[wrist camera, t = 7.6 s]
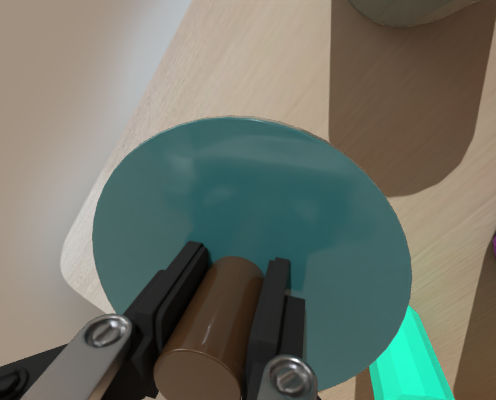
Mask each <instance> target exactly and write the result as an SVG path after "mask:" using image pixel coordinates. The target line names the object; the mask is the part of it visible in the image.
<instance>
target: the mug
mask: <svg viewBox="0 0 496 400" xmlns="http://www.w3.org/2000/svg"><path fill="white" fill-rule="evenodd" d="M493 247H494V252H495V257H496V235H495V238H494V240H493Z"/></svg>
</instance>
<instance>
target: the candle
mask: <svg viewBox="0 0 496 400" xmlns="http://www.w3.org/2000/svg"><path fill="white" fill-rule="evenodd" d="M369 370H370V375H371V381H372V386H373V392H374V397H375V400H455V399H454V397H453V394H452V392H451V390H450V387H449V385H448V383H447V380H446V378H445V376H444V373H443V371H442V369H441V366H440V364H439V362H438V359H437V357H436V355H435V352H434V350H433V348H432V345H431V343H430V341H429V338H428V336H427V334H426V331H425V329H424V326H423V324H422V322H421V319H420V317H419V315H418V314H417V313H416V312H415V311H414V310H413V309H412V308H411V307H410V306H409V305H408V307H407V311H406V315H405V318H404V320H403V322H402V324H401V326H400V328H399V331H398V333H397V334H396V336H395V337H394V339H393V340H392V342H391V343H390V345H389V346H388V348H387V349H386V350H385V351H384V352H383V353H382V354H381V355H380V356H379V357H378V358H377V360H376V361H375V362H373V363H372V364H371V365H370V366H369Z"/></svg>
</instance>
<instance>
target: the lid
mask: <svg viewBox="0 0 496 400" xmlns="http://www.w3.org/2000/svg"><path fill="white" fill-rule="evenodd" d="M92 241H93V255H94V260H95V265H96V270H97V273H98V276H99V279H100V282H101V285H102V287H103V290H104V292H105V294H106V296H107V298H108V300H109V302H110V304H111V305H112V307H113V309H114V311H115V312H116V314H121V315H122V314H123V313H124V312H125V311H126V309H127V308H128V307H129V306H130V305H131V303H132V302H133V301H134V300H135V299H136V297H137V296H138V295H139V294H140V292H141V291H142V290H143V289H144V288H145V286H146V285H147V284H148V283H149V282H150V280H151V279H152V278H153V277H154V275H155V274H156V273H157V272H158V271H159V270H161V269H163V270H166V268H167V267H168V266H169V265H170V263H171V262H172V261H173V260H174V258H175V257H176V256H177V255H178V253H179V252H180V251H181V249H182V248H183V247H184V246H185V244H186V243H187V242H188V241H194V242H199V243H203V245H204V247H206V248H208V259H207V272H206V274H205V276H204V277H203V279H202V281H201V283H200V284H199V286H198V288H197V290H196V291H195V293H194V295H193V297H192V298H191V300H190V302H189V304H188V305H187V307H186V309H185V311H184V312H183V314H182V316H181V318H180V320H179V321H178V323H177V325H176V327H175V328H174V330H173V332H172V334H171V335H170V337H169V339H168V341H167V342H166V344H165V346H164V348H163V349H162V351H161V353H160V355H159V356H158V358H157V360H156V362H155V364H154V368H153V378H154V382H155V384H156V387H157V388H158V390H159V391H160V393H161V394H162V395H163V396H164V398H165V399H166V400H241V397H242V393H243V388H244V384H245V379H246V375H245V368H246V359H247V351H248V343H249V337H250V332H251V328H252V324H253V320H254V317H255V313H256V309H257V305H258V301H259V297H260V294H261V290H262V286H263V282H264V278H265V275H266V271H267V267H268V263H269V260H274V261H275V258H276V257H279V258H284V259H289V260H290V262H289V269H288V276H287V282H286V289H285V295H288V296H293V297H298V298H302V299H305V319H304V338H303V358H302V359H303V360H304V361H305V362H307V363H308V364H309V365H310V366H311V368H312V369H313V370H314V372H315V374H316V377H317V383H318V391H321V390H325V389H328V388H331V387H333V386H336V385H338V384H340V383H343V382H345V381H347V380H349V379H350V378H352V377H354V376H355V375H357V374H359V373H361V372H362V371H363V370H364V369H366V368H367V367H368V366H370V365H371V364H372V363H373V362H375V361H376V360H377V358H378V357H379V356H380V355H381V354H382V353H383V352H384V351H385V350H386V349H387V348H388V346H389V345H390V343H391V342H392V340H393V339H394V337H395V336H396V334H397V333H398V331H399V328H400V326H401V324H402V322H403V320H404V318H405V315H406V311H407V307H408V304H409V300H410V294H411V284H412V270H411V257H410V253H409V249H408V245H407V241H406V236H405V234H404V231H403V229H402V227H401V224H400V222H399V220H398V217H397V215H396V213H395V211H394V210H393V208H392V206H391V205H390V203H389V202H388V200H387V198H386V197H385V195H384V194H383V192H382V190H381V189H380V188H379V186H378V185H377V184H376V183H375V182H374V181H373V179H372V178H371V177H370V176H369V175H368V173H367V172H366V171H365V170H364V169H363V168H362V167H360V166H359V165H358V164H357V163H356V162H355V161H354V160H353V159H351V158H350V157H349V156H348V155H347V154H346V153H344V152H343V151H341V150H340V149H338V148H337V147H335V146H334V145H332V144H331V143H329V142H328V141H326V140H324V139H322V138H320V137H318V136H316V135H314V134H312V133H310V132H308V131H306V130H304V129H301V128H298V127H295V126H292V125H289V124H286V123H283V122H280V121H276V120H271V119H265V118H260V117H255V116H235V115H227V116H216V117H206V118H202V119H198V120H194V121H190V122H185V123H182V124H179V125H177V126H175V127H172V128H170V129H167V130H165V131H162V132H160V133H158V134H156V135H155V136H153V137H151V138H149V139H148V140H146V141H144V142H143V143H141V144H140V145H139V146H138V147H136V148H135V149H134V150H133V151H132V152H130V153H129V154H128V155H127V156H126V157H125V158H124V159H123V160H122V162H121V163H120V164H119V165H118V166H117V167H116V169H115V170H114V171H113V173H112V174H111V176H110V178H109V179H108V181H107V183H106V184H105V186H104V188H103V191H102V193H101V195H100V198H99V200H98V203H97V207H96V211H95V216H94V221H93V233H92ZM318 391H317V392H318Z"/></svg>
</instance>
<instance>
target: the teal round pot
mask: <svg viewBox="0 0 496 400" xmlns="http://www.w3.org/2000/svg"><path fill="white" fill-rule="evenodd" d="M349 1H350V3H351V4H352V5H353V6H354V7H355V8H356V9H357V10H358V11H359V12H360V13H361V14H362V15H364V16H366V17H367V18H369V19H370V20H373V21H375V22H377V23H380V24H383V25H387V26H394V27H410V26H417V25H421V24H425V23H428V22H433V21H437V20H439V19H441V18H444V17H446V16H448V15H450V14H452V13H454V12H456V11H458V10H460V9H462V8H464V7H466V6H469V5H471V4H473V3H475V2H477V1H479V0H349Z"/></svg>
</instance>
